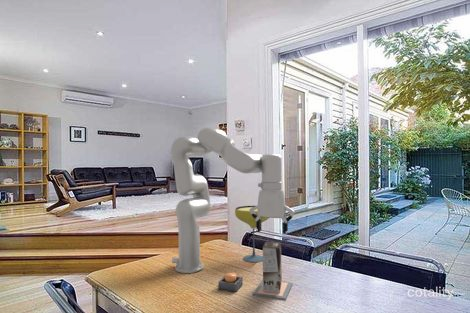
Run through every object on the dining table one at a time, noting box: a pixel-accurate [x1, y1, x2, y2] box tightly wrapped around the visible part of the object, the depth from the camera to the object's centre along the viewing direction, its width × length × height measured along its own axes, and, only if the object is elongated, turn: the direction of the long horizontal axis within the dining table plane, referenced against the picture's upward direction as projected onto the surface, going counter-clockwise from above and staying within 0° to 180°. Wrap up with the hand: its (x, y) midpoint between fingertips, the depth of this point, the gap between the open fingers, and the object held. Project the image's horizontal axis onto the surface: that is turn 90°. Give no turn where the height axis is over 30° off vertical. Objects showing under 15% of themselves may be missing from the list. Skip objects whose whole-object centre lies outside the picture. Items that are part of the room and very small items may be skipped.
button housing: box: [217, 275, 243, 293], centre depth 115 cm, size 7×7×3 cm
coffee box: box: [262, 241, 283, 293], centre depth 113 cm, size 9×6×16 cm
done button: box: [224, 272, 237, 283], centre depth 115 cm, size 4×4×3 cm
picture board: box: [252, 278, 293, 301], centre depth 112 cm, size 12×14×1 cm
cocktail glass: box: [234, 205, 270, 263], centre depth 148 cm, size 18×18×25 cm
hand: (271, 232), depth 113 cm, fingers open, 9 cm apart
